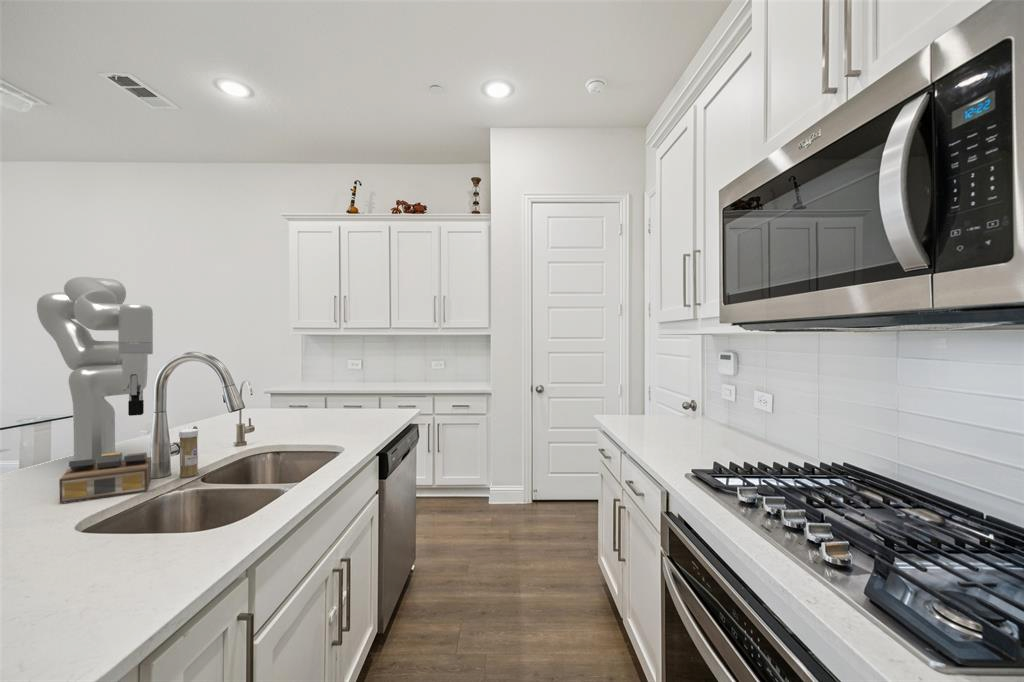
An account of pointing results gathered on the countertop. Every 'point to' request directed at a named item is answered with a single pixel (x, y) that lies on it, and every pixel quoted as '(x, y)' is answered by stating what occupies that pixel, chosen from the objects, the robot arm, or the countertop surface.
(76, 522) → the countertop surface
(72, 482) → the switch unit
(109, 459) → the rocker
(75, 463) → the rocker
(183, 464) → the sprinkles bottle
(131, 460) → the rocker
